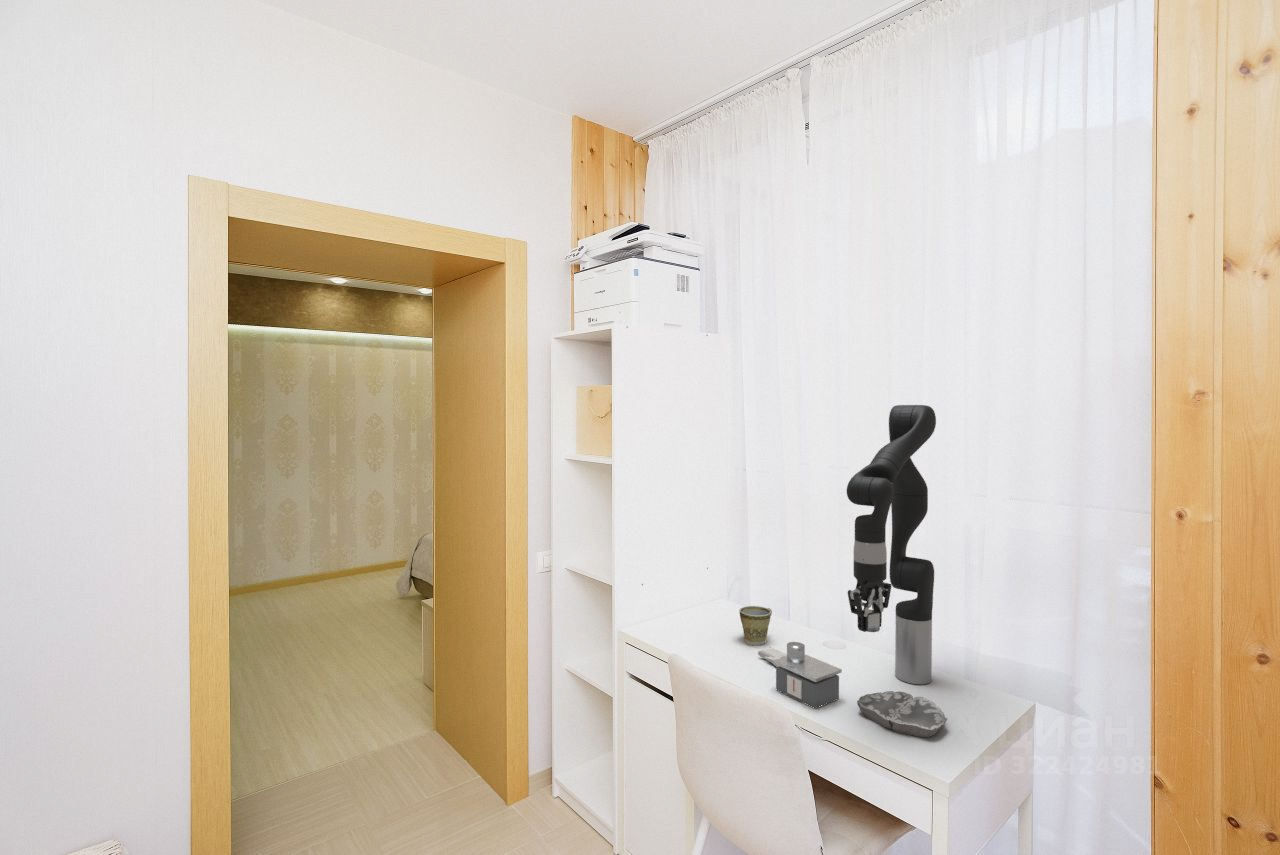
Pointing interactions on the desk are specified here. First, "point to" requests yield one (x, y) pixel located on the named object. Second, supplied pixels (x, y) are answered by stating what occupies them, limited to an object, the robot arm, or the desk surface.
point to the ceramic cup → (755, 623)
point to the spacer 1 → (795, 652)
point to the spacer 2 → (873, 621)
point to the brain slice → (903, 713)
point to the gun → (771, 654)
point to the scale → (807, 687)
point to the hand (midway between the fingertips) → (869, 628)
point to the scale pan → (809, 668)
